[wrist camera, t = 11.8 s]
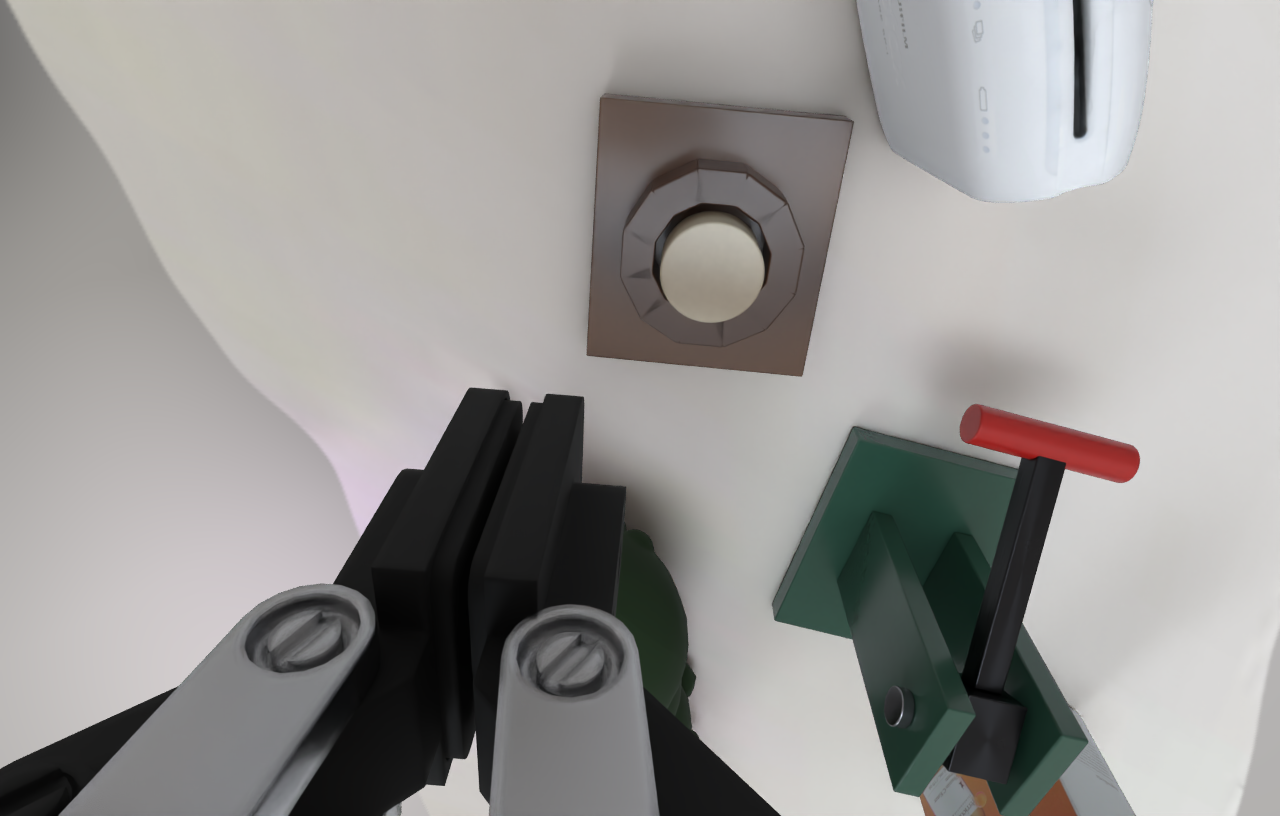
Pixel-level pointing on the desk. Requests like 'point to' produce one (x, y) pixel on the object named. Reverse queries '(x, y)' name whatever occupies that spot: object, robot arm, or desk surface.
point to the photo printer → (1010, 89)
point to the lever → (1018, 569)
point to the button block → (711, 181)
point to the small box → (1070, 812)
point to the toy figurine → (655, 624)
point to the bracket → (922, 607)
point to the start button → (711, 267)
